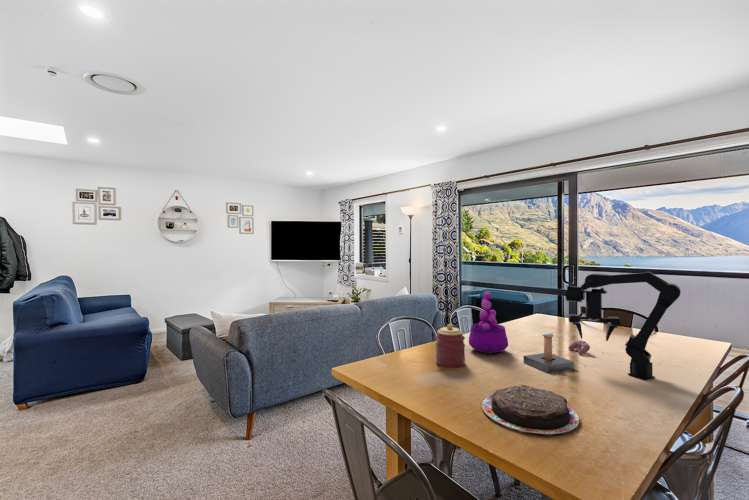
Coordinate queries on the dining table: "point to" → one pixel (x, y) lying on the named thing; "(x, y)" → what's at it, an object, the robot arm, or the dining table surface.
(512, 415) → the chocolate cake
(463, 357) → the canister
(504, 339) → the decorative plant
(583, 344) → the mauve curved piece
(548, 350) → the pin
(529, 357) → the dark grey square base
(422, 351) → the dining table surface
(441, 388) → the dining table surface
